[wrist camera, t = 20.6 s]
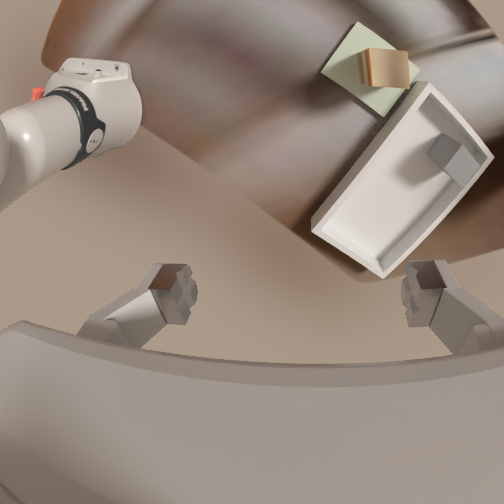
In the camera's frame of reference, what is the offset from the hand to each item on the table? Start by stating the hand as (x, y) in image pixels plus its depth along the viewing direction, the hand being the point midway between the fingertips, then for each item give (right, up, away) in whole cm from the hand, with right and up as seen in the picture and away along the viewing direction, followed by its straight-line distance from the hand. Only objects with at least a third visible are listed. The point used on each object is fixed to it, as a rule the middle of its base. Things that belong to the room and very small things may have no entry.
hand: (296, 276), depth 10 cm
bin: (+22, +12, +30) cm, 39 cm away
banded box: (+15, +26, +21) cm, 36 cm away
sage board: (+15, +27, +22) cm, 37 cm away
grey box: (+28, +16, +25) cm, 41 cm away
